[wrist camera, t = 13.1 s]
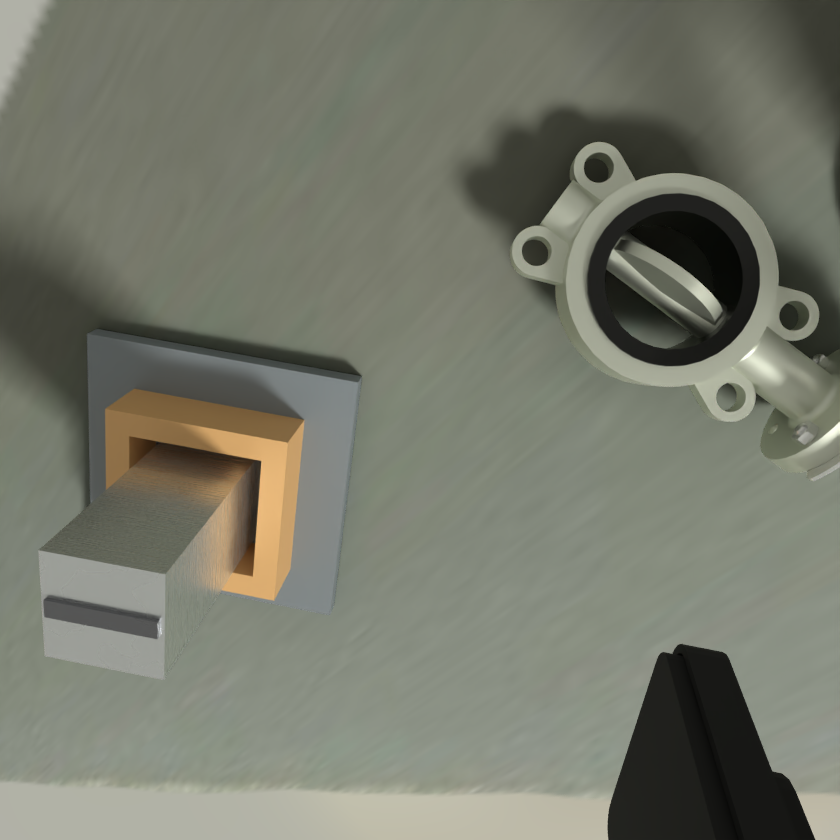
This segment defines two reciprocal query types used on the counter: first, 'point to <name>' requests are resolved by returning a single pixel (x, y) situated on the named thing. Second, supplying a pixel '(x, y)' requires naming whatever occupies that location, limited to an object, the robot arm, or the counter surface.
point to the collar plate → (237, 447)
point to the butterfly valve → (690, 303)
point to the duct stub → (148, 559)
